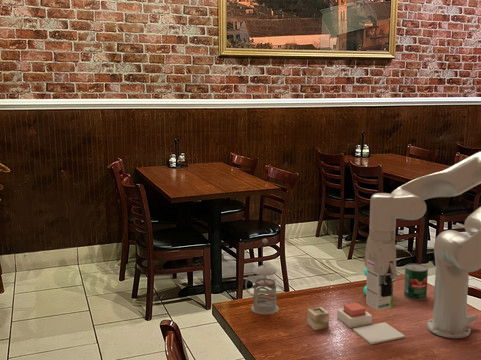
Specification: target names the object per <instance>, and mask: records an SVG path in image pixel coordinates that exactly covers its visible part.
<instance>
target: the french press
mask: <svg viewBox="0 0 481 360" xmlns="http://www.w3.org/2000/svg"><path fill="white" fill-rule="evenodd" d="M261 242H262V243H263V244H267V243H269V241H268V239H267V238H262V240H261ZM252 272H253V273H251V274H250V275H248V276H247V277H246V278H245V282H244V283H245V285H244V286H245V291H246V292H247V294H248V295H250V296H251V297H252V298H253V299H252V300H253V301H252V302H253V303H252V304H253V305H252V306H251V307H250V310H251V312H253V313H255V314H257V315H266V316H268V315H273V314H276V313H277V312H279V311H280V308H279V306H278V305H277V285H276V281H275V280H274V279H272V278H269V277H266V276H273V275H275V274H276V273H277V272H278V271H277V269H276V268H275V267H273V266H271V265H267V264H264V265H259V266H257V267H255V268H253V271H252ZM255 275H258V276H263V277H262V278H257V279H256V280H255ZM251 278H253V280H254V285H253V293H252V292H250V291H249V289H248V287H247V284H248V281H249V280H250V279H251ZM278 310H279V311H278ZM275 312H276V313H275Z"/></svg>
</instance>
